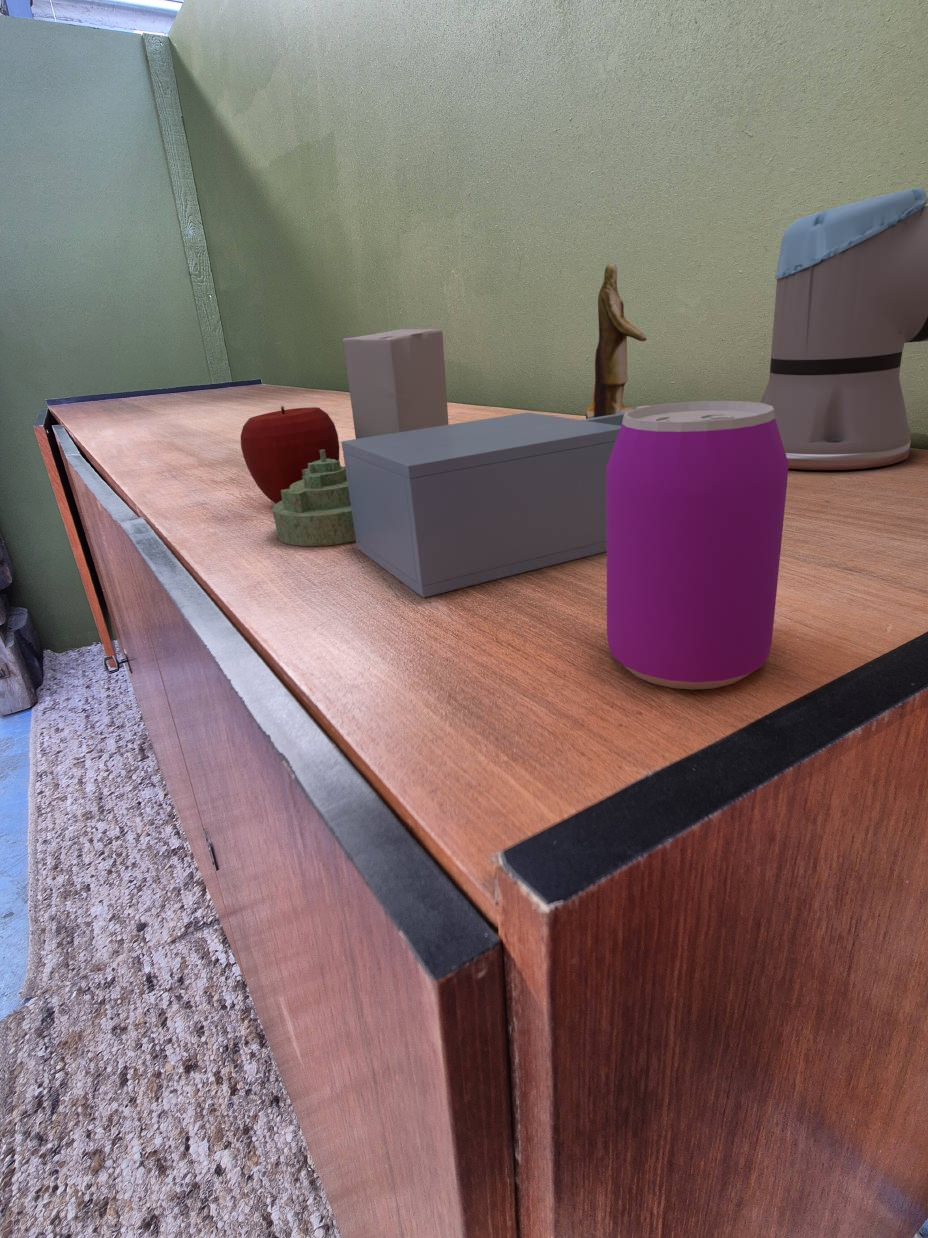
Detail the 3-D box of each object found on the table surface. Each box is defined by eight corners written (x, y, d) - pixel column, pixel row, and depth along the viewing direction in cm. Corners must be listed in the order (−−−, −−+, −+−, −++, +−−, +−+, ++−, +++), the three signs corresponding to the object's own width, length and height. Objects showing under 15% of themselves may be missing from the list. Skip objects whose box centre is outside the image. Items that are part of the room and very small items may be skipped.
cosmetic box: (409, 480, 81) (392, 329, 74) (460, 484, 77) (447, 325, 70) (358, 498, 74) (334, 335, 68) (410, 503, 70) (390, 331, 64)
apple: (249, 503, 76) (229, 407, 73) (337, 489, 79) (322, 396, 76) (259, 522, 68) (238, 415, 64) (356, 506, 71) (341, 402, 67)
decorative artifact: (351, 549, 58) (410, 515, 66) (338, 462, 55) (401, 438, 63) (254, 543, 62) (320, 512, 70) (237, 461, 59) (308, 440, 67)
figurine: (651, 476, 72) (655, 256, 64) (575, 477, 75) (570, 266, 67) (655, 466, 76) (659, 259, 69) (582, 467, 79) (579, 267, 71)
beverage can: (751, 627, 38) (770, 394, 33) (787, 699, 31) (817, 417, 27) (605, 628, 40) (604, 404, 35) (608, 697, 33) (607, 430, 28)
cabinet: (532, 510, 64) (528, 412, 61) (629, 546, 52) (629, 426, 49) (357, 548, 58) (341, 441, 54) (423, 598, 46) (408, 465, 43)
